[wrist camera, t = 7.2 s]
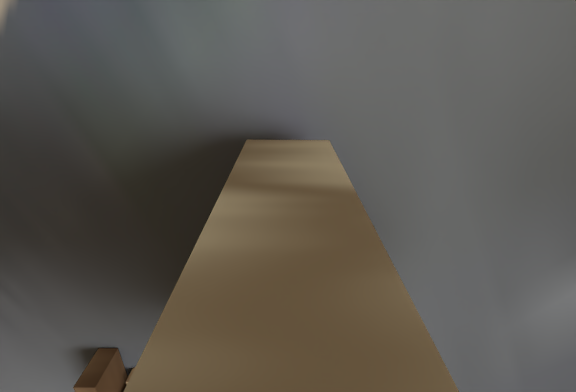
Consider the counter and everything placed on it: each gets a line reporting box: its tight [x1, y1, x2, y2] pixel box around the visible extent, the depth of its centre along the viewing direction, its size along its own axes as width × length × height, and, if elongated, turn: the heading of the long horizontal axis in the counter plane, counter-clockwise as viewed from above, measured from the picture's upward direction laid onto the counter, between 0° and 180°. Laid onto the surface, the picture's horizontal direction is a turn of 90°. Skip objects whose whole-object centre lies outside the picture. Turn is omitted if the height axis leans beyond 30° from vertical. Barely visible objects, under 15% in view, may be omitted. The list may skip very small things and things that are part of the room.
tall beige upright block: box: [124, 140, 459, 392], centre depth 7 cm, size 2×9×9 cm, turn 0°
